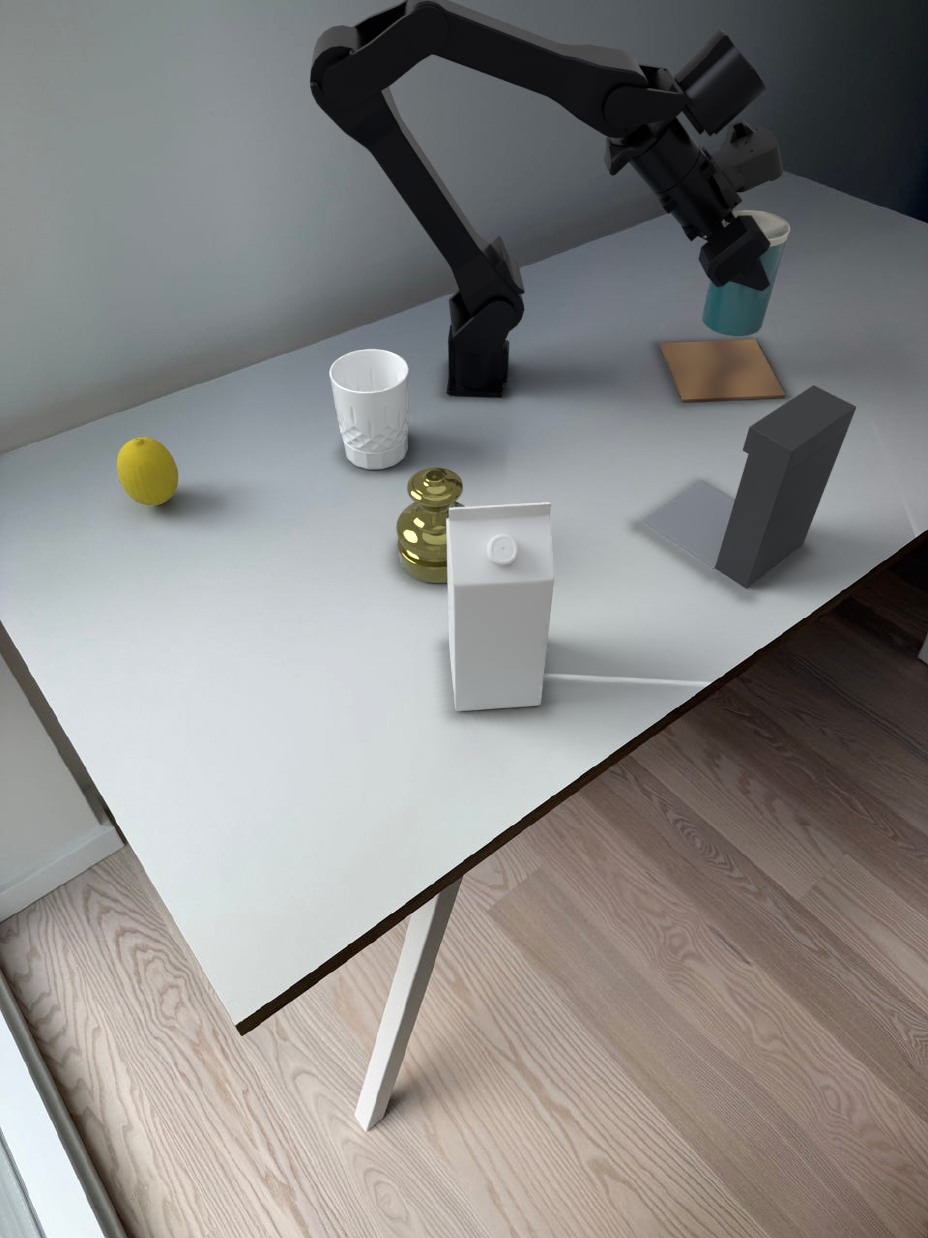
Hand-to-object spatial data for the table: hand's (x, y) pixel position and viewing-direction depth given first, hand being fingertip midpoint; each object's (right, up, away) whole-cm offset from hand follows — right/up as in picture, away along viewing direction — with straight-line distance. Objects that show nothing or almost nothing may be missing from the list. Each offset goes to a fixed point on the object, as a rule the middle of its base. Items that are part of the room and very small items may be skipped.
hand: (756, 271), depth 97 cm
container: (-1, -4, +4) cm, 6 cm away
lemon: (-63, -26, -7) cm, 69 cm away
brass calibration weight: (-35, -32, -12) cm, 49 cm away
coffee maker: (-7, -30, -10) cm, 32 cm away
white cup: (-41, -20, -1) cm, 46 cm away
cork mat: (-1, -8, +9) cm, 13 cm away
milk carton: (-29, -43, -21) cm, 56 cm away
